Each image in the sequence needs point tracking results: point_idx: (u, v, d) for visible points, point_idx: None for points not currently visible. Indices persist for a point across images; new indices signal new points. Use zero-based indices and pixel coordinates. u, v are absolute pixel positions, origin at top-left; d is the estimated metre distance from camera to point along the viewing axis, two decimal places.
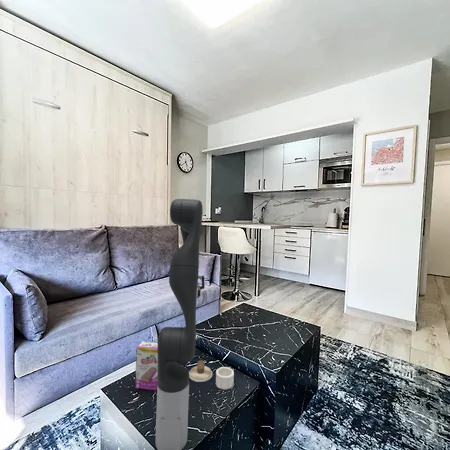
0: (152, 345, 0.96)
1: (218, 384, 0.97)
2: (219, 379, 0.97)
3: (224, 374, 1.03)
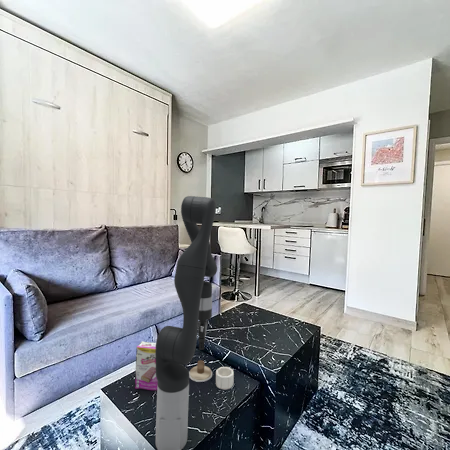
0: (152, 345, 0.96)
1: (218, 384, 0.97)
2: (219, 379, 0.97)
3: (224, 374, 1.03)
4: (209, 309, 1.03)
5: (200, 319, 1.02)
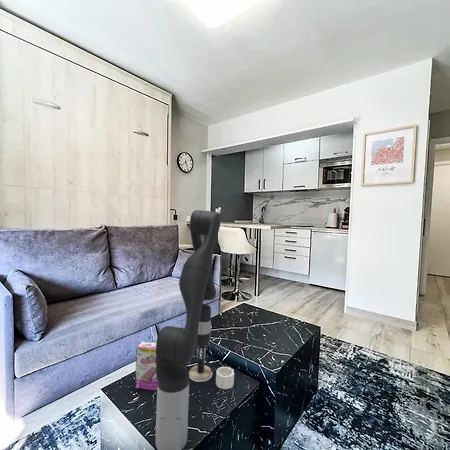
0: (152, 345, 0.96)
1: (219, 384, 0.97)
2: (220, 379, 0.97)
3: (224, 374, 1.03)
4: (208, 333, 1.03)
5: (199, 343, 1.02)
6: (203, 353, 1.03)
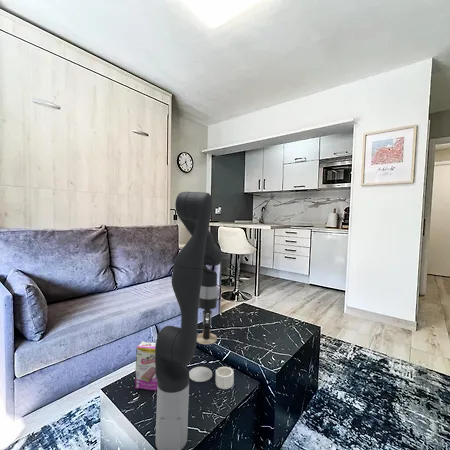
0: (152, 345, 0.96)
1: (219, 384, 0.97)
2: (220, 379, 0.97)
3: (223, 374, 1.03)
4: (214, 298, 1.02)
5: (205, 308, 1.00)
6: (209, 318, 1.01)
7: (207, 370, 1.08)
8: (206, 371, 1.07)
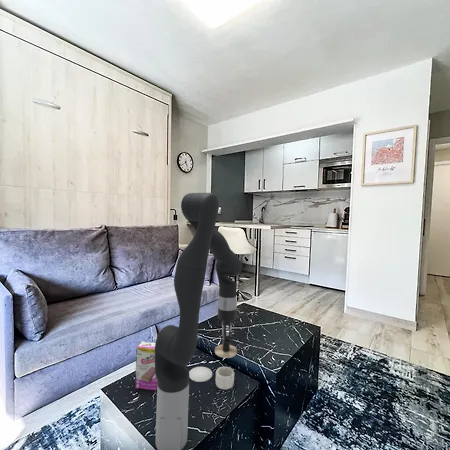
0: (152, 345, 0.96)
1: (220, 385, 0.97)
2: (221, 380, 0.96)
3: (222, 374, 1.02)
4: (234, 309, 0.97)
5: (225, 320, 0.96)
6: (229, 330, 0.97)
7: (207, 370, 1.08)
8: (206, 371, 1.07)
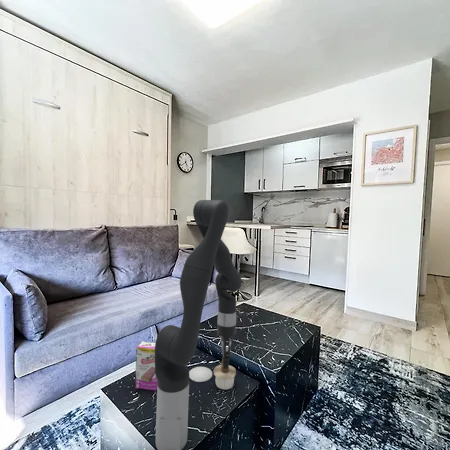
0: (152, 345, 0.96)
1: (220, 385, 0.97)
2: (222, 380, 0.97)
3: None
4: (234, 325, 0.97)
5: (224, 336, 0.96)
6: None
7: (207, 370, 1.08)
8: (206, 371, 1.07)
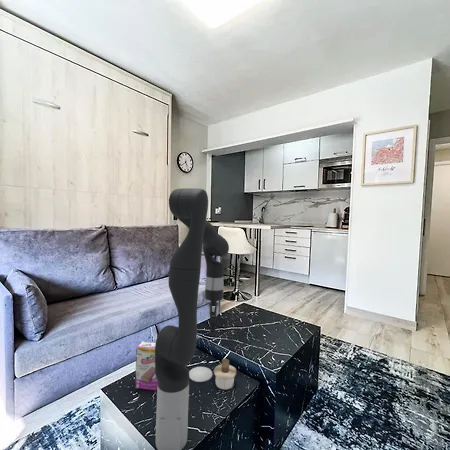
0: (152, 345, 0.96)
1: (220, 385, 0.97)
2: (222, 380, 0.97)
3: None
4: (220, 289, 1.00)
5: (211, 299, 0.98)
6: (215, 310, 0.99)
7: (207, 370, 1.08)
8: (206, 371, 1.07)
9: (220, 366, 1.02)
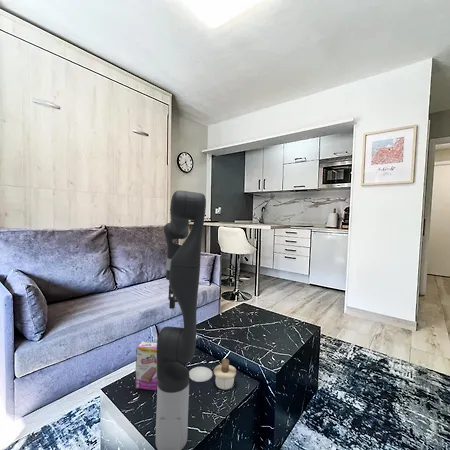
0: (152, 345, 0.96)
1: (220, 385, 0.97)
2: (222, 380, 0.97)
3: None
4: None
5: None
6: None
7: (207, 370, 1.08)
8: (206, 371, 1.07)
9: (220, 366, 1.02)
